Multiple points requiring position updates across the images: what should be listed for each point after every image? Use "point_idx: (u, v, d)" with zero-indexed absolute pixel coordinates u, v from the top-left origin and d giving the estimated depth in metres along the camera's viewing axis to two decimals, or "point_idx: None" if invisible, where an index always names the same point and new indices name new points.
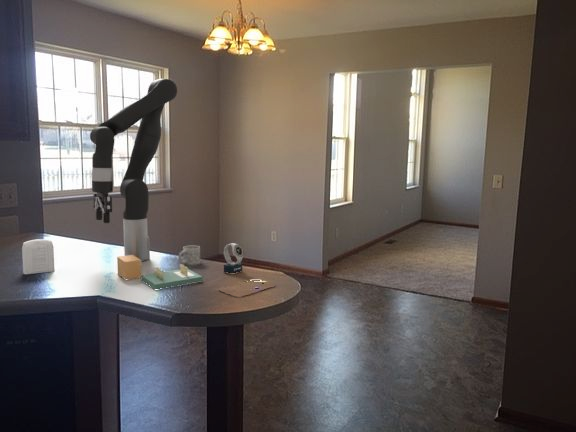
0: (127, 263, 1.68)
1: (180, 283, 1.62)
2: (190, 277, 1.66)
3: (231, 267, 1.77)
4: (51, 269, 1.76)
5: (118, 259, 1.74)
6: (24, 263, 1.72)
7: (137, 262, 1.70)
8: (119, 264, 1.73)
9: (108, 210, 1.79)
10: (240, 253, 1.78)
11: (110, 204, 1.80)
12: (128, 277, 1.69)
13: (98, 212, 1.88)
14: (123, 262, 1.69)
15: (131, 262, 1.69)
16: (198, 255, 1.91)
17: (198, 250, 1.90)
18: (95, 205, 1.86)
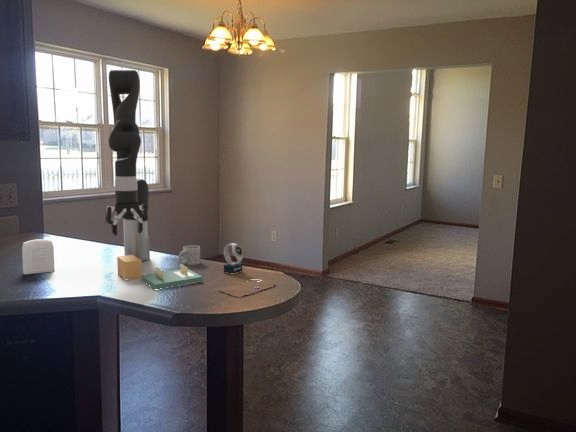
0: (127, 263, 1.68)
1: (180, 283, 1.62)
2: (190, 277, 1.66)
3: (231, 267, 1.77)
4: (51, 269, 1.76)
5: (118, 259, 1.74)
6: (24, 263, 1.72)
7: (137, 262, 1.70)
8: (119, 264, 1.73)
9: None
10: (240, 253, 1.78)
11: None
12: (128, 277, 1.69)
13: None
14: (123, 262, 1.69)
15: (131, 262, 1.69)
16: (198, 255, 1.91)
17: (198, 250, 1.90)
18: (119, 219, 1.67)
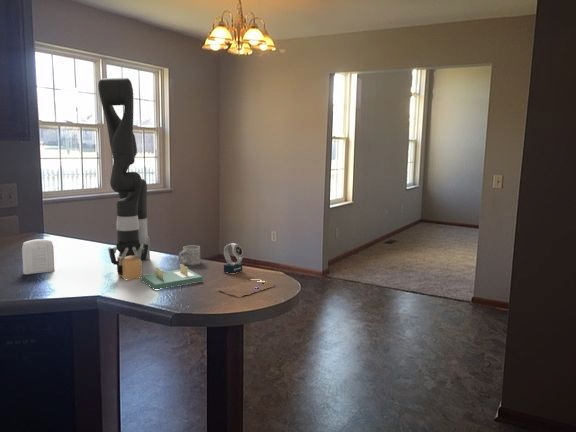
0: (127, 263, 1.68)
1: (180, 283, 1.62)
2: (190, 277, 1.66)
3: (231, 267, 1.77)
4: (51, 269, 1.76)
5: None
6: (24, 263, 1.72)
7: (137, 262, 1.70)
8: None
9: None
10: (240, 253, 1.78)
11: None
12: (128, 277, 1.69)
13: None
14: (123, 262, 1.69)
15: (131, 262, 1.69)
16: (198, 255, 1.91)
17: (198, 250, 1.90)
18: (123, 258, 1.70)
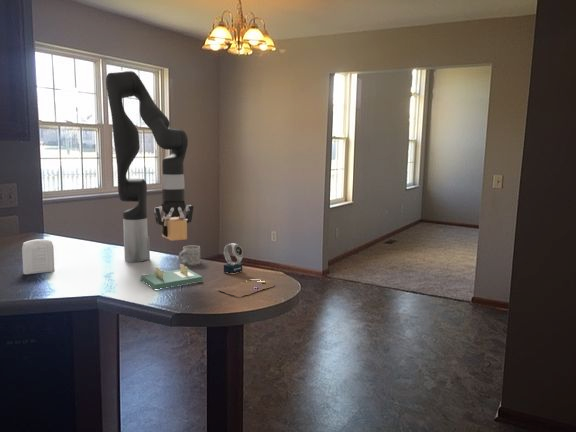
0: (173, 223, 1.61)
1: (180, 283, 1.62)
2: (190, 277, 1.66)
3: (231, 267, 1.77)
4: (51, 269, 1.76)
5: None
6: (24, 263, 1.72)
7: (183, 223, 1.63)
8: None
9: None
10: (240, 253, 1.78)
11: None
12: (174, 238, 1.62)
13: None
14: (169, 222, 1.63)
15: (177, 222, 1.62)
16: (198, 255, 1.91)
17: (198, 250, 1.90)
18: (169, 219, 1.63)
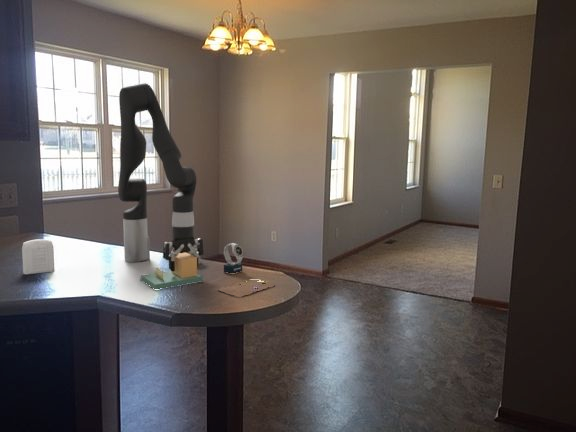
0: (183, 261, 1.64)
1: (180, 283, 1.62)
2: (190, 277, 1.66)
3: (231, 267, 1.77)
4: (51, 269, 1.76)
5: None
6: (24, 263, 1.72)
7: (193, 260, 1.66)
8: None
9: None
10: (240, 253, 1.78)
11: None
12: (184, 275, 1.65)
13: None
14: (179, 260, 1.65)
15: (187, 260, 1.65)
16: None
17: None
18: (177, 254, 1.65)
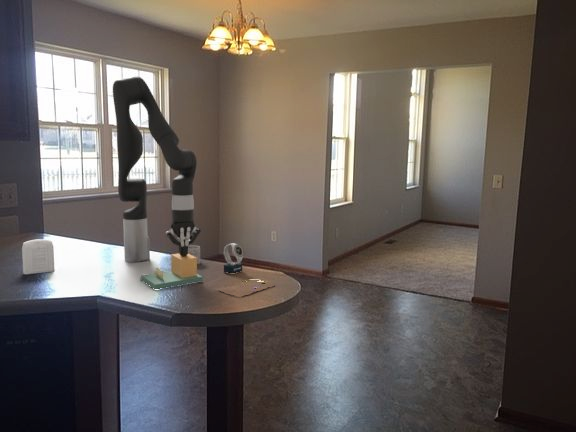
0: (183, 261, 1.64)
1: (180, 283, 1.62)
2: (190, 277, 1.66)
3: (231, 267, 1.77)
4: (51, 269, 1.76)
5: (172, 257, 1.70)
6: (24, 263, 1.72)
7: (193, 260, 1.66)
8: (173, 262, 1.69)
9: None
10: (240, 253, 1.78)
11: None
12: (184, 275, 1.65)
13: None
14: (179, 260, 1.65)
15: (187, 260, 1.65)
16: (198, 255, 1.91)
17: (198, 250, 1.90)
18: (183, 238, 1.66)
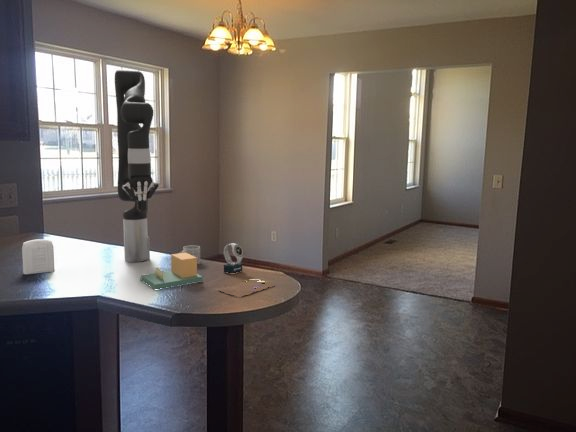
0: (183, 261, 1.64)
1: (180, 283, 1.62)
2: (190, 277, 1.66)
3: (231, 267, 1.77)
4: (51, 269, 1.76)
5: (172, 257, 1.70)
6: (24, 263, 1.72)
7: (193, 260, 1.66)
8: (173, 262, 1.69)
9: None
10: (240, 253, 1.78)
11: None
12: (184, 275, 1.65)
13: None
14: (179, 260, 1.65)
15: (187, 260, 1.65)
16: (198, 255, 1.91)
17: (198, 250, 1.90)
18: (140, 193, 1.65)
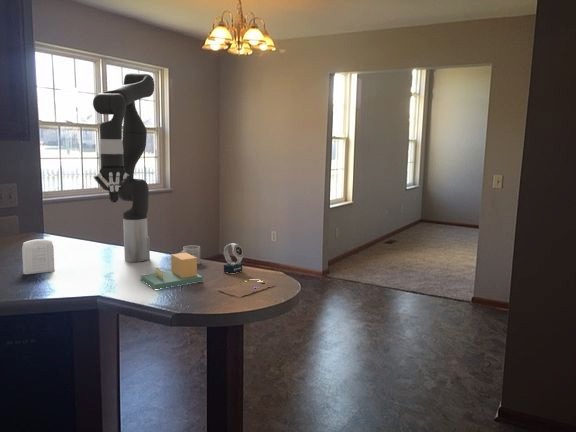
0: (183, 261, 1.64)
1: (180, 283, 1.62)
2: (190, 277, 1.66)
3: (231, 267, 1.77)
4: (51, 269, 1.76)
5: (172, 257, 1.70)
6: (24, 263, 1.72)
7: (193, 260, 1.66)
8: (173, 262, 1.69)
9: None
10: (240, 253, 1.78)
11: None
12: (184, 275, 1.65)
13: None
14: (179, 260, 1.65)
15: (187, 260, 1.65)
16: (198, 255, 1.91)
17: (198, 250, 1.90)
18: (112, 183, 1.66)
